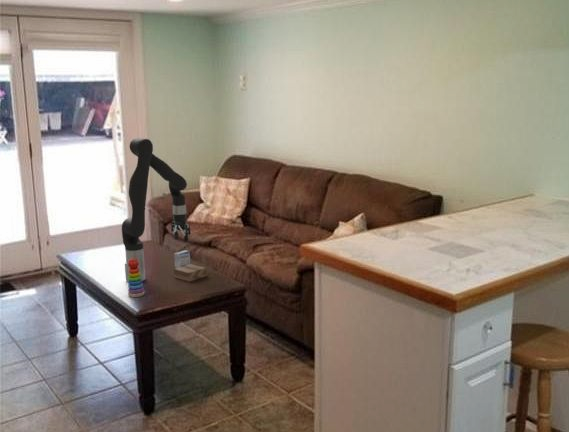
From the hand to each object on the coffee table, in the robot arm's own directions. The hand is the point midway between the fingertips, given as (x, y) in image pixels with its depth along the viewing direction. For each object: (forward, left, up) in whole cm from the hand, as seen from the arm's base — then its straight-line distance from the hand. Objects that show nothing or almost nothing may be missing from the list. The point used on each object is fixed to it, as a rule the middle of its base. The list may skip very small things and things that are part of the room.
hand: (181, 240), depth 341 cm
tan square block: (-9, -18, -16) cm, 26 cm away
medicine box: (0, 0, -16) cm, 16 cm away
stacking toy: (-45, -20, -15) cm, 52 cm away
